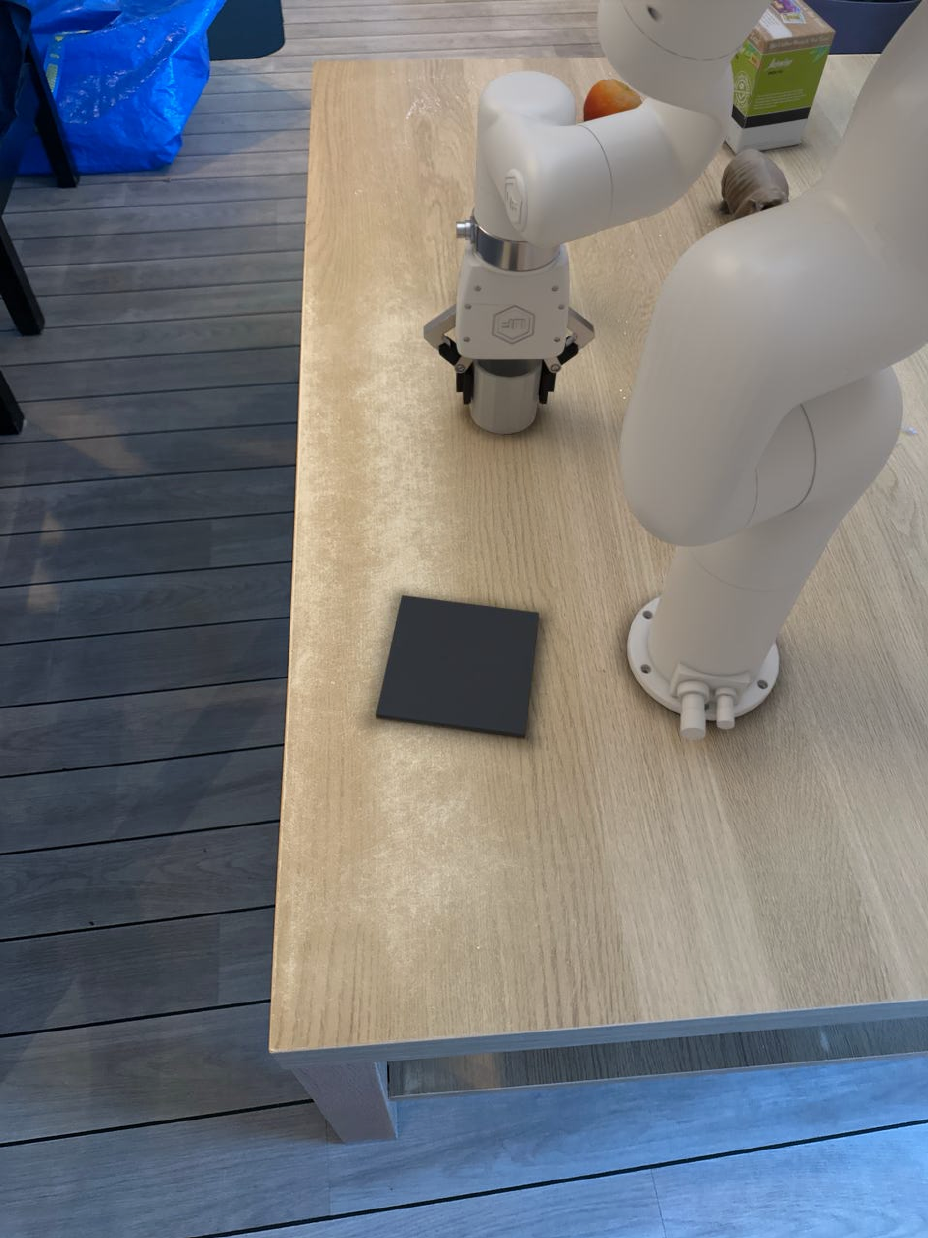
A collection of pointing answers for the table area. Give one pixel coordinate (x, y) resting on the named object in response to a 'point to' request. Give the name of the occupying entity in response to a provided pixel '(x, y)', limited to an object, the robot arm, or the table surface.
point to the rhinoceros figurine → (752, 185)
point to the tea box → (777, 76)
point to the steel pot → (505, 393)
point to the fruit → (609, 99)
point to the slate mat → (460, 666)
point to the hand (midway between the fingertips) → (504, 394)
